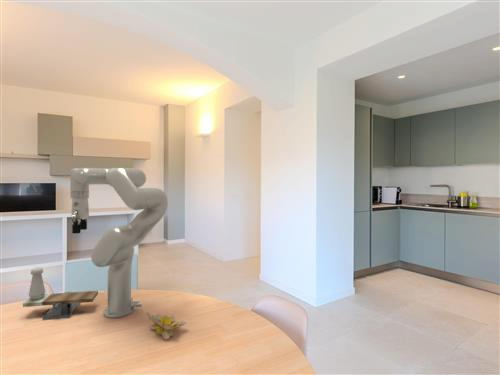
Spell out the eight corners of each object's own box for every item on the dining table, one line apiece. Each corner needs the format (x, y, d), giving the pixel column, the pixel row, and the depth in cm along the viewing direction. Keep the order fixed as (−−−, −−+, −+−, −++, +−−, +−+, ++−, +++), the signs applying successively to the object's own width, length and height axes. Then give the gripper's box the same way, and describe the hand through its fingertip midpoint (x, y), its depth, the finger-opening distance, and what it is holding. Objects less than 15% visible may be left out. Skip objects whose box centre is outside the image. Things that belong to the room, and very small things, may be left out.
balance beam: (97, 293, 136) (97, 290, 136) (92, 302, 127) (92, 298, 127) (33, 298, 130) (33, 294, 130) (22, 307, 121) (22, 303, 121)
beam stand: (80, 303, 137) (80, 290, 137) (69, 318, 123) (69, 303, 123) (56, 305, 135) (56, 292, 134) (42, 320, 121) (42, 305, 121)
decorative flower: (193, 329, 112) (187, 305, 110) (167, 348, 104) (160, 322, 103) (172, 318, 123) (166, 296, 121) (147, 334, 115) (141, 311, 113)
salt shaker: (48, 296, 129) (48, 266, 129) (38, 301, 123) (38, 270, 123) (36, 295, 130) (36, 266, 129) (25, 300, 124) (25, 270, 124)
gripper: (82, 196, 130) (83, 234, 131) (93, 193, 147) (93, 228, 148) (63, 196, 129) (64, 235, 129) (77, 193, 145) (77, 228, 146)
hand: (79, 231), depth 138 cm, fingers open, 9 cm apart
